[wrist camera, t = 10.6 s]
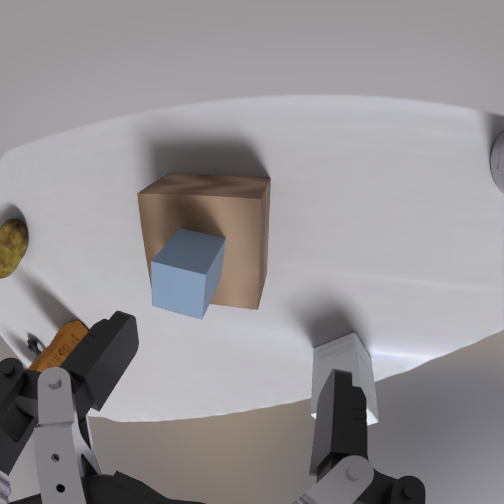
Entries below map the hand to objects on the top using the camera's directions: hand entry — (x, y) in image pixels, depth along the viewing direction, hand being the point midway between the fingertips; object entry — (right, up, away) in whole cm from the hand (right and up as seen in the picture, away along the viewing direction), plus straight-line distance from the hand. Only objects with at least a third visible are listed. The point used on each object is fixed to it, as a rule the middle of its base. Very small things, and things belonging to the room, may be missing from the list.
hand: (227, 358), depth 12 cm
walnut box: (-3, +8, +29) cm, 30 cm away
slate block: (-4, +4, +22) cm, 22 cm away
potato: (-44, +6, +37) cm, 58 cm away
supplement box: (+15, -12, +35) cm, 40 cm away
